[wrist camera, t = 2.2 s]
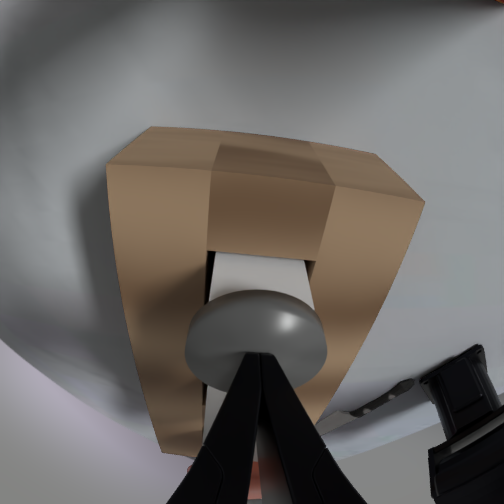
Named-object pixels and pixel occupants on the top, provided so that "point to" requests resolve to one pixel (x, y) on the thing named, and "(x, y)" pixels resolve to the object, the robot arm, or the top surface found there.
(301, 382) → the plug
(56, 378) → the top surface
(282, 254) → the socket board
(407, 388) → the chef's knife
